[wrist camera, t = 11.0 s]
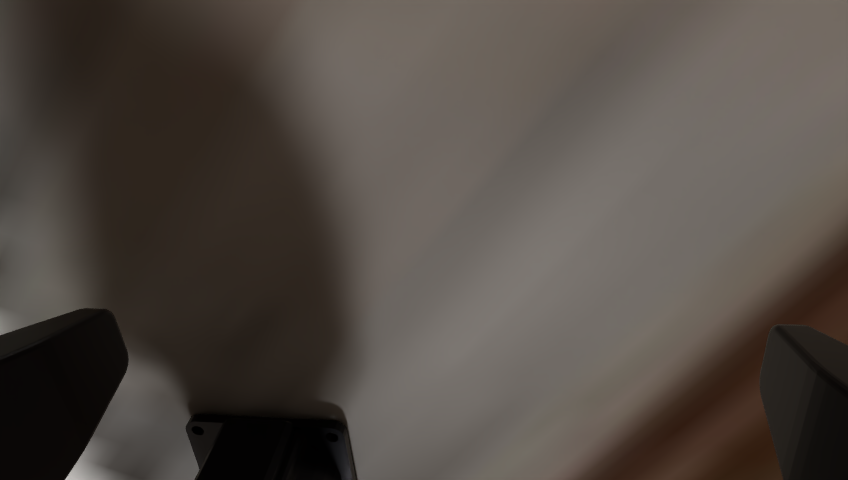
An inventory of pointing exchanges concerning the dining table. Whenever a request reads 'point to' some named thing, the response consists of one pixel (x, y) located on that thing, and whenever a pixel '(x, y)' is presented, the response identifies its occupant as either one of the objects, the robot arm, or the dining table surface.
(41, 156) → the dining table surface
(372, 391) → the dining table surface
